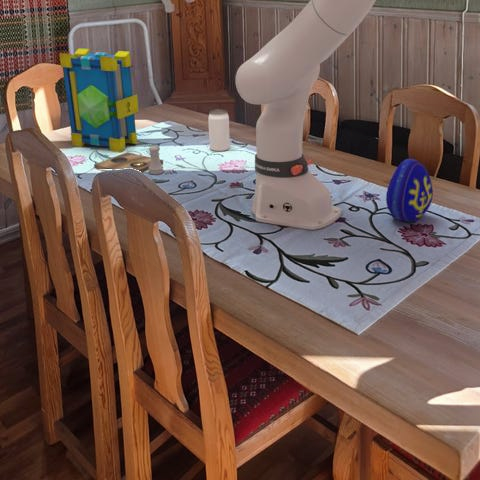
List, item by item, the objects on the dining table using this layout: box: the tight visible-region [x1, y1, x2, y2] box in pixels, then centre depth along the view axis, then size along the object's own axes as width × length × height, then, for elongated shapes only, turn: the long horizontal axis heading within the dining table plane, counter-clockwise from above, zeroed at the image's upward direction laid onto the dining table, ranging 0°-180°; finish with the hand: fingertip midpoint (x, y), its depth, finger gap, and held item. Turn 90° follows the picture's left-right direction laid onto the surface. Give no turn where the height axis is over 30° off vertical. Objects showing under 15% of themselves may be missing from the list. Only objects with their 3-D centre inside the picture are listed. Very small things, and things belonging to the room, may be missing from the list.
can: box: [207, 109, 231, 153], centre depth 217 cm, size 6×6×12 cm
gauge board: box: [93, 152, 164, 173], centre depth 206 cm, size 15×14×1 cm
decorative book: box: [58, 47, 139, 153], centre depth 221 cm, size 14×23×30 cm, turn 62°
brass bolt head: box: [133, 162, 143, 166], centre depth 203 cm, size 3×3×1 cm
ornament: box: [385, 158, 434, 223], centre depth 161 cm, size 11×9×15 cm
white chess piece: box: [147, 144, 164, 176], centre depth 199 cm, size 4×4×8 cm
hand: (180, 6), depth 174 cm, fingers open, 8 cm apart
